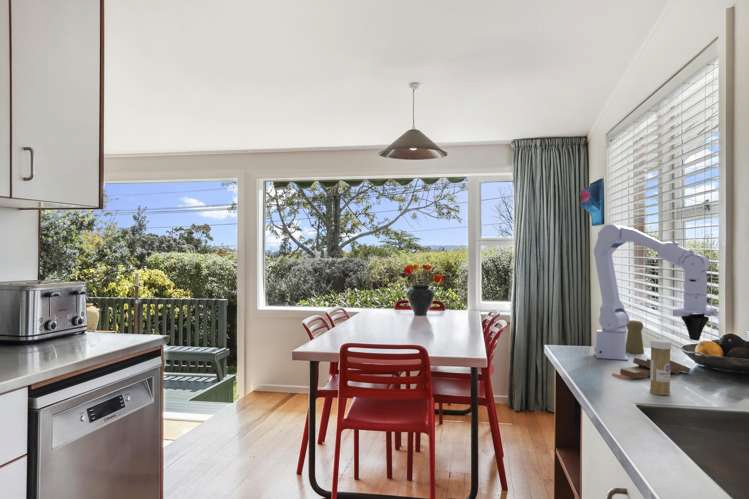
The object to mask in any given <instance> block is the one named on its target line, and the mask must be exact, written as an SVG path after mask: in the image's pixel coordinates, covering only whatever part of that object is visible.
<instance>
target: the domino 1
mask: <svg viewBox="0 0 749 499" xmlns="http://www.w3.org/2000/svg"><path fill="white" fill-rule="evenodd" d="M611 375H612V376H614V377H616V378H620V379H623V380H631V379H634V378H632V377H629V376H626V375H623V374H620V371H617V372H611ZM643 378H644V379H645V378H648V376H646V377H639V378H638V379H643Z"/></svg>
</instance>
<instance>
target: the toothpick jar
mask: <svg viewBox="0 0 749 499" xmlns="http://www.w3.org/2000/svg"><path fill="white" fill-rule="evenodd" d="M649 343H650V344H649V345H650V346H649V347H650V360H651V365H650V376H649V379H650V389H649V391H650V393H651V394H654V395H658V396H669V395H670V394H671V388H670V386H671V372H670V360H671V349H672V341H671V340H667V339H661V338H652V339H651V340H650V342H649Z"/></svg>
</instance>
